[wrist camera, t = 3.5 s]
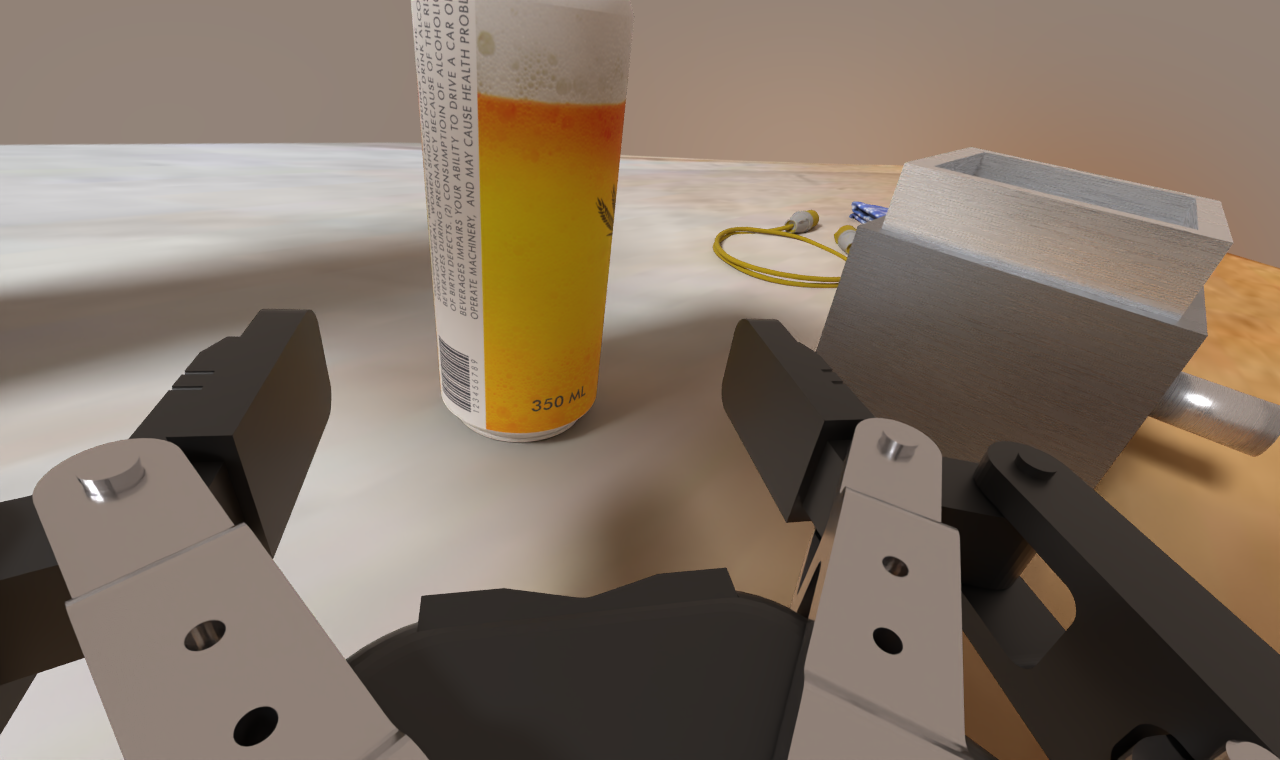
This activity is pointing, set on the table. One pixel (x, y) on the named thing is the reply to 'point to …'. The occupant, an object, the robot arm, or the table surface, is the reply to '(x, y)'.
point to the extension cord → (793, 225)
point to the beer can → (520, 200)
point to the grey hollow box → (1035, 312)
